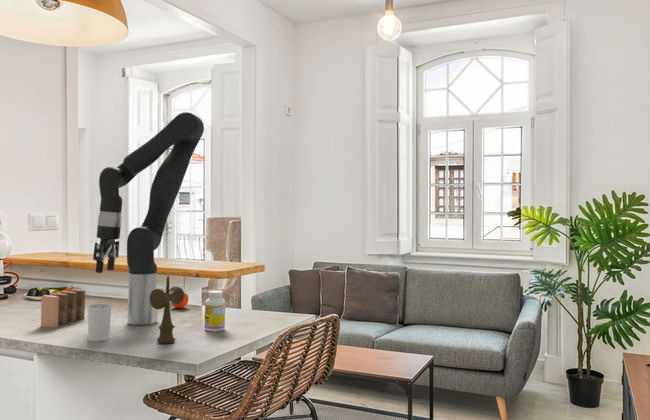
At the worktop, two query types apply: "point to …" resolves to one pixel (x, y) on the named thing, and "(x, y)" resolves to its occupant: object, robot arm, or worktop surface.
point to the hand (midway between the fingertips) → (104, 271)
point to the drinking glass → (99, 322)
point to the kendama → (166, 309)
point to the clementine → (182, 301)
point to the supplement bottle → (215, 312)
